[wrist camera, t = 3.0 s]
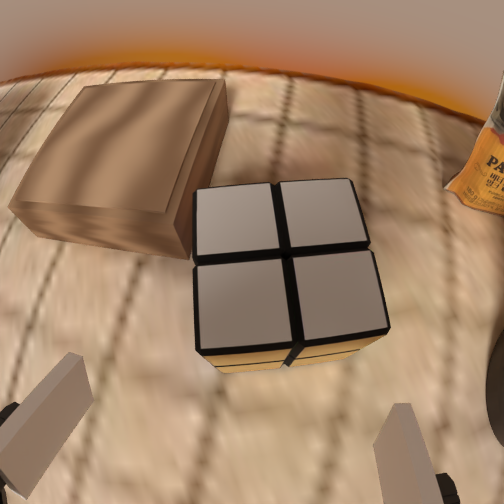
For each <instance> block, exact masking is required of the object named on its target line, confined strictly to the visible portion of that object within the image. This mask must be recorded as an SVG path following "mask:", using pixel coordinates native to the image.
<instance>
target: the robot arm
mask: <svg viewBox="0 0 504 504" xmlns="http://www.w3.org/2000/svg"><path fill="white" fill-rule="evenodd" d="M93 401H94V399H93V395H92V392H91V388H90V384H89V381H88V377H87V373H86V369H85V364H84V360H83V356H80V355H77V354H74V353H71V352H69V353H68V354H67V355H66V356H65V357H64V358H63V359H62V360H61V361H60V362H59V363H58V364H57V365H56V366H55V367H54V368H53V369H52V370H51V371H50V372H49V374H48V375H47V376H46V377H45V378H44V379H43V380H42V381H41V382H40V383H39V384H38V385H37V386H36V388H35V389H34V390H33V391H32V392H31V393H30V394H29V395H28V396H27V397H26V398H25V400H24V401H23V402H22V403H21V404H18V403H16V402H14V403H12V404H10V405H8V406H6V407H5V408H4V409H3V410H2V411H1V412H0V504H8V503H7V497H6V492H5V489H4V486H5V485H6V484H7V486H8V487H9V488H10V489H11V490H12V491H13V492H14V493H16V494H17V495H19V496H20V497H22V498H24V499H25V500H27V499H28V497H29V496H30V494H31V493H32V491H33V489H34V488H35V486H36V485H37V483H38V482H39V480H40V479H41V477H42V476H43V474H44V473H45V471H46V470H47V468H48V467H49V465H50V464H51V462H52V461H53V459H54V458H55V456H56V455H57V453H58V452H59V450H60V449H61V447H62V446H63V444H64V443H65V441H66V440H67V439H68V437H69V436H70V434H71V433H72V431H73V430H74V428H75V427H76V426H77V424H78V423H79V421H80V420H81V418H82V417H83V416H84V414H85V413H86V411H87V410H88V408H89V407H90V406H91V404H92V403H93ZM487 409H488V415H489V420H490V424H491V427H492V430H493V432H494V434H495V436H496V438H497V439H498V441H499V442H500V444H501V445H502V446H503V447H504V330H503V332H502V333H501V335H500V337H499V339H498V341H497V343H496V345H495V348H494V351H493V354H492V357H491V361H490V365H489V371H488V378H487ZM373 447H374V452H375V457H376V463H377V468H378V473H379V479H380V484H381V490H382V496H383V502H384V504H460V499H459V496H458V495H457V489H456V486H455V483H454V481H453V480H452V479H451V478H450V477H449V475H448V474H447V473H442V474H436V475H435V473H434V470H433V466H432V463H431V460H430V457H429V454H428V451H427V448H426V445H425V442H424V439H423V437H422V434H421V431H420V428H419V425H418V422H417V420H416V417H415V414H414V412H413V409H412V406H411V404H410V403H394V405H393V407H392V409H391V411H390V413H389V415H388V417H387V419H386V421H385V423H384V425H383V427H382V429H381V431H380V433H379V435H378V437H377V438H376V440H375V442H374V444H373Z"/></svg>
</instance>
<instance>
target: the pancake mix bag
mask: <svg viewBox="0 0 504 504" xmlns="http://www.w3.org/2000/svg"><path fill="white" fill-rule="evenodd" d="M444 189H446V190H448V191H450V192H452V193H454V194H455V195H456V196H457V197H458V199H459V200H460V201H461V203H462V204H464V205H466V206H468V207H470V208H472V209H475V210H479V211H483V212H487V213H491V214H495V215H499V216H503V217H504V72H503V76H502V80H501V85H500V89H499V93H498V97H497V100H496V104H495V106H494V108H493V111H492V112H491V114H490V116H489V118H488V120H487V121H486V123H485V125H484V127H483V128H482V130H481V132H480V134H479V136H478V137H477V140H476V143H475V146H474V149H473V151H472V153H471V155H470V157H469V159H468V161H467V162H466V164H465V165H464V167H463V168H462V170H461V171H460V172H458V173H457V174H455V175H454V176H453V177H452V178H451V179H450V181H449V182H448V183H447V184H446V186H445V187H444Z"/></svg>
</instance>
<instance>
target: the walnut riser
mask: <svg viewBox="0 0 504 504" xmlns="http://www.w3.org/2000/svg"><path fill="white" fill-rule="evenodd" d="M228 122H229V116H228V106H227V95H226V85H225V80H222V79H170V80H147V81H132V82H120V83H110V84H101V85H93V86H85V87H83V89H82V90H81V91H80V92H79V94H78V95H77V96H76V98H75V99H74V100H73V102H72V103H71V104H70V106H69V107H68V108H67V110H66V111H65V112H64V114H63V115H62V117H61V118H60V119H59V121H58V122H57V124H56V125H55V127H54V128H53V130H52V131H51V133H50V134H49V136H48V137H47V139H46V140H45V142H44V143H43V145H42V147H41V148H40V150H39V151H38V153H37V155H36V156H35V158H34V160H33V161H32V163H31V165H30V166H29V168H28V170H27V171H26V173H25V175H24V177H23V179H22V180H21V182H20V184H19V186H18V188H17V190H16V192H15V193H14V195H13V197H12V199H11V201H10V203H9V205H8V208H9V209H10V210H11V211H12V212H13V213H14V214H15V215H16V216H17V217H18V218H19V219H20V220H21V221H22V222H23V223H24V224H25V225H26V226H27V227H28V228H29V229H30V230H31V231H32V232H33V233H34V234H35V235H36V236H37V237H41V238H47V239H54V240H60V241H66V242H72V243H79V244H85V245H92V246H98V247H105V248H111V249H118V250H124V251H131V252H138V253H144V254H151V255H158V256H165V257H172V258H178V259H185V260H189V258H190V254H191V250H192V194H193V192H194V191H196V190H197V189H199V188H208V187H209V184H210V181H211V177H212V174H213V171H214V167H215V164H216V161H217V157H218V154H219V151H220V147H221V144H222V141H223V138H224V135H225V131H226V128H227V125H228Z"/></svg>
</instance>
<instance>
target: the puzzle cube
mask: <svg viewBox="0 0 504 504" xmlns="http://www.w3.org/2000/svg"><path fill="white" fill-rule="evenodd" d="M370 243H371V241H370V238H369V234H368V231H367V227H366V224H365V220H364V217H363V213H362V210H361V207H360V203H359V200H358V197H357V194H356V191H355V187H354V184H353V182H352V181H351V180H350V179H348V178H333V179H312V180H295V181H280V182H278V183H277V184H276V185H275V186H274V185H273V184H271V183H269V182H263V183H251V184H239V185H228V186H218V187H208V188H199V189H197V190H196V191H194V192H193V194H192V258H193V261H194V263H195V265H196V266H195V267H194V268H193V304H194V330H195V351H197V352H198V353H199V354H200V355H201V356H202V357H203V358H205V359H206V360H207V361H208V362H210V363H211V364H212V365H213V366H214V367H215V368H217V369H218V370H219V371H221V372H222V373H233V372H245V371H256V370H266V369H275V368H280V367H281V366H282V365H283V364H286V365H287V366H288V367H292V366H300V365H308V364H315V363H321V362H328V361H334V360H340V359H344V358H346V357H348V356H350V355H352V354H353V353H355V352H357V351H359V350H360V349H362V348H364V347H366V346H367V345H369V344H371V343H373V342H374V341H376V340H378V339H380V338H381V337H383V336H385V335H387V333H388V331H389V330H390V328H391V326H390V321H389V316H388V311H387V306H386V302H385V297H384V293H383V288H382V284H381V280H380V276H379V272H378V267H377V264H376V260H375V256H374V252H372V251H371V250H370V249H368V246H369V245H370Z"/></svg>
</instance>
